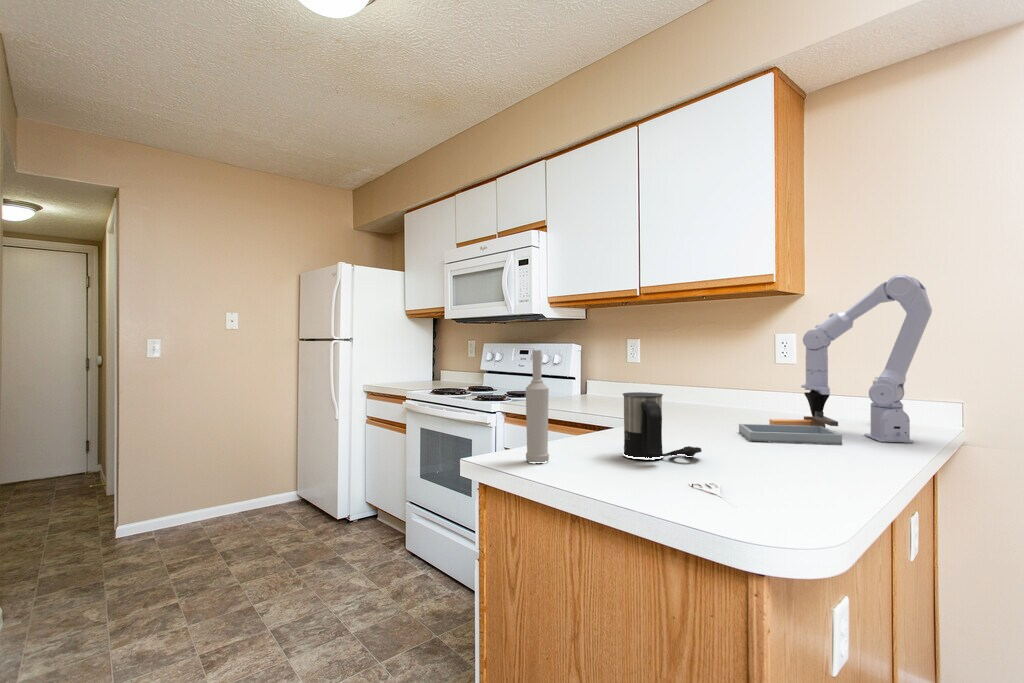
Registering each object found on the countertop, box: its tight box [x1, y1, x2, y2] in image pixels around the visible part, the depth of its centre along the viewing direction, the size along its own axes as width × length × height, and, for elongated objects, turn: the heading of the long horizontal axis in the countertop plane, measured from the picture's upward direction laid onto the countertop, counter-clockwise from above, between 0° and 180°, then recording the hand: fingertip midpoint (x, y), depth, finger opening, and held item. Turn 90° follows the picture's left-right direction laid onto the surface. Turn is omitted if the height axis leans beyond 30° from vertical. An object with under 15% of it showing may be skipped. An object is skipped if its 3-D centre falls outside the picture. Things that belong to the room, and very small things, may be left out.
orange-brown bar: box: [768, 418, 812, 426], centre depth 158 cm, size 4×14×3 cm, turn 83°
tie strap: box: [815, 411, 839, 427], centre depth 148 cm, size 12×2×2 cm, turn 168°
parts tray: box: [738, 423, 843, 445], centre depth 144 cm, size 14×22×2 cm, turn 78°
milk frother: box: [622, 391, 702, 458], centre depth 121 cm, size 14×16×15 cm
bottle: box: [525, 349, 550, 462], centre depth 117 cm, size 5×5×25 cm
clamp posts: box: [803, 415, 826, 428], centre depth 157 cm, size 9×3×3 cm, turn 168°
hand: (816, 416), depth 155 cm, fingers closed
